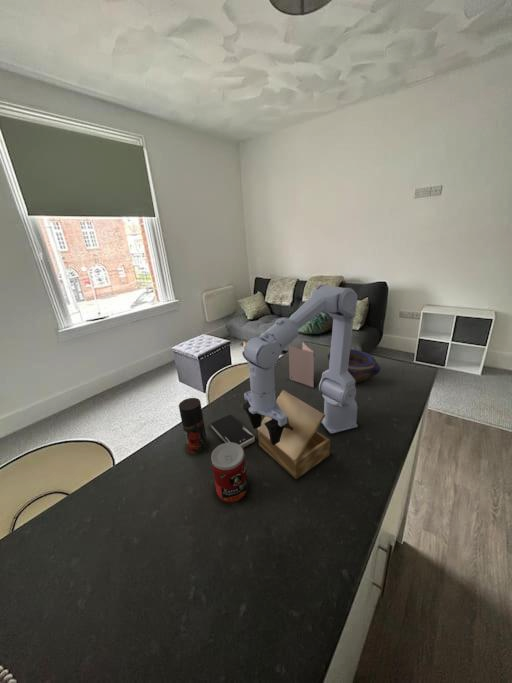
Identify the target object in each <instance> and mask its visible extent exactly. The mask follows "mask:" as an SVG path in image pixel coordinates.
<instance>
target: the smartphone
mask: <svg viewBox="0 0 512 683" xmlns="http://www.w3.org/2000/svg"><path fill="white" fill-rule="evenodd" d="M210 427H211V429H212V430H213V431H214V432H215V433H216V435H217V436H219V438H220V439H221V440H222V441H223V442H224V443H228V442H232V443H236V444H238V445H240V446H241V447H242V448H243V449H244V448H245V447H247V446H249V445H250V444H253V443H254V442H255V441H256V440H255V439H256V437H255V435H254V434H253V433H252V432H250V430H248V429H247V428H246V427H245V426H244V425H243V424H241V423H240V421H239V420H237V419H236V418H235V417H234V416H233V415H232V414H228V415H226V416H223V417H221V418H219V419H217V420H215V421H212V422H211V424H210Z"/></svg>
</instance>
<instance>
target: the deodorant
mask: <svg viewBox="0 0 512 683" xmlns="http://www.w3.org/2000/svg"><path fill="white" fill-rule="evenodd" d="M178 409H179V415H180V418H181V419H180V421H181V425H182V430H183V435H184V440H185V444H186V448H187V452H188V453H190V454H192V455H197V454H200V453H203V452H204V451H206V449H207V448H208V439H207V434H206V427H205V421H204V416H203V408H202V403H201V400H200V399H199V398H197V397H188V398H186V399H183V400H181V401H180V402H179V403H178Z"/></svg>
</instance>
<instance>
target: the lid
mask: <svg viewBox="0 0 512 683" xmlns="http://www.w3.org/2000/svg"><path fill="white" fill-rule="evenodd" d="M276 402H277V404H278V405H279V407H280V408H281V410H282V412H283V413H284V414H285V415H286V416H287V417H288V423H287V424H286V426H285V427H284V429H283V431H282V434H281V438H280V442H278V443H277V444H275V445H276V446H278V447H279V448H280V449H281V450H282V451H283V452H285V453H286V454H287V455H288V456H289V457H291V458H292V459H293V460H294V461H295V462H297V460H298V459H299V457H300V455H301V454H302V452H303V451H304V449H305V447H306V446H307V444H308V443H309V441H310V439H311V438H312V436H313V435H314V433H315V431H318V428H319V426H320V425H321V424H322V423H321V422H322V420H323V419H324V417H325V414H324V412H322V411H319V410H318V409H316V408H315V407H313V406H311V405H309V404H308V403H306V402H305V401H303V400H301V399H299V398H298V397H296V396H294V395H293V394H291V393H289V392H288V391H286V390H285V389H282V391H280V393H279V395H278V397H276ZM270 420H272V418H270V417H267V416H264V418H262V422H261V426H260V427H258V428H256V430H257V431H258V430H259V431H260V432H261V433H262V434H264V435H265V436H266V437H267V438H268V439H269V440H270V435H269V431H268V429H267V427H266V426H265V423H266V422H268V421H270Z"/></svg>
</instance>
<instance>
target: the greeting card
mask: <svg viewBox="0 0 512 683" xmlns="http://www.w3.org/2000/svg"><path fill="white" fill-rule="evenodd" d="M315 355H316V353H315V352H314V351H313V350H312V349H311V348H310V347H309V346H307V345H306V343H304V342H303V341H302V343H301V348H298V347H293V346H291V345H288V368H289V369H288V370H289V380H290V381H292V382H296V383H300V384H302V385H304V386H308V387H311V388H314V387H315V386H314V385H315V384H314V382H315V380H314V379H315ZM291 377H292V378H291Z"/></svg>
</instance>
